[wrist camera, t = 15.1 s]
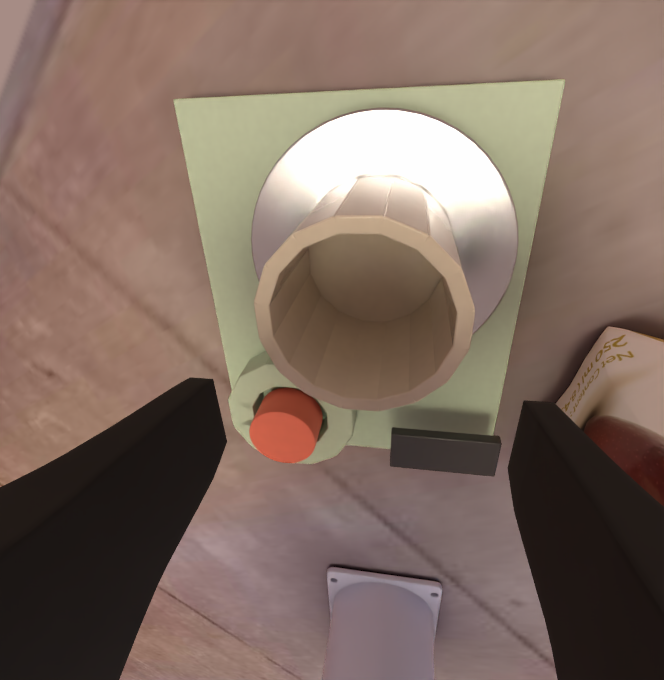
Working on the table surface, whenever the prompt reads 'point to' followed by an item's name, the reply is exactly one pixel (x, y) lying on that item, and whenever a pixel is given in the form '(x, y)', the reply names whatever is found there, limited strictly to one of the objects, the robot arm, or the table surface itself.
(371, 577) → the robot arm
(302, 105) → the scale
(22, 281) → the table surface
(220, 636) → the table surface
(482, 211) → the weighing plate
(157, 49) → the table surface
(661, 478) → the juice carton
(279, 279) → the cup
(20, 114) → the table surface
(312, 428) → the tare button
